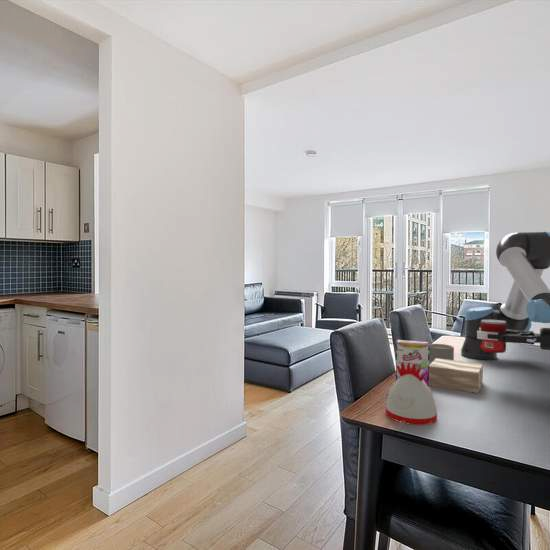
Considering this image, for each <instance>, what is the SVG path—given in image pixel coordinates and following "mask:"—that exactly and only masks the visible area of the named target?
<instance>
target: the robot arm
mask: <svg viewBox="0 0 550 550" xmlns="http://www.w3.org/2000/svg"><path fill="white" fill-rule="evenodd" d="M495 254H496V255H495V256H496V259H497V261H498V262H499V263H500V265H501V266H502V267H505V268H506V270H507V271H508V273H509V274H510V275H511V278H512V280H513V282H512V285H511V288H510V290H509V294H508V297H507V299H506V302H504V303H502V304H501V305H500V307H499V310H498V309H494V308H493V307H491V306H478V307H471V308H468V309H467V310H466V311H465V316H464V321H465V324H464V326H465V327H464V331H465V333H464V336H465V337H464V341H463V344H462V347H461V349H460V355H461V354H462V355H461V356H463V357H465V358H469V359H476V360H487V361H488V360H496V359H497V357H498V353H492V352H486V351H483V350H482V349H481V339H487V340H497V341H500V342H506V343H511V344H526V345H532V346H533V345H535V344H539V348H540V350H544V351H550V327H541V328H540V329H539V333H536V332H534V331H533V330H531V328H532V322H533V323H541V324H550V288H549V287H548V285H547V284H546V283H545V281H544V280H543V279H542V276H543V272H544V270H548V269H549V268H550V231H542V232H541V231H535V232H533V231H532V232H531V231H529V232H527V231H523V232H521V231H519V232H518V231H517V232H512V233H509V234H507V235H505V236H504V237H502V238H501V239H500V241H499V242H498V243H497V246H496V251H495ZM481 320H501V321H506V334H501V332H500V331H498V333H496V332H484V331H481Z"/></svg>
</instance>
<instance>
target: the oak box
mask: <svg viewBox="0 0 550 550" xmlns="http://www.w3.org/2000/svg"><path fill="white" fill-rule="evenodd" d="M483 368H484V364H483V363H476V362H469V361H462V360H456V359H455V360H448V359H440V358H436V359H435V360H434V361H433V362H432V363H431V364H430V365H429V386H431V385H432V387H437V386H438V387H437V388H443V389H444V388H445V389H451V390H456V391H461V392H466V391H467V392H468V393H472V392H475V393H474V394H479V393H478V392H480V390H481V388H482V385H483V379H484V378H483V373H484V372H483V371H484V369H483Z"/></svg>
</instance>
